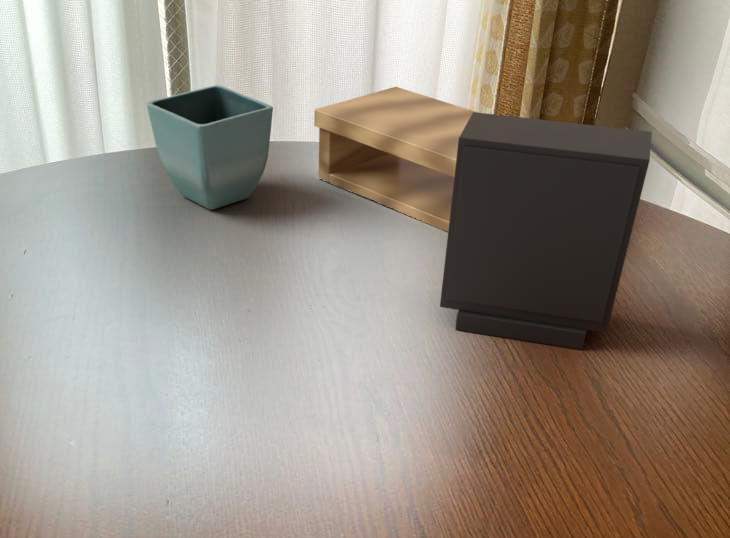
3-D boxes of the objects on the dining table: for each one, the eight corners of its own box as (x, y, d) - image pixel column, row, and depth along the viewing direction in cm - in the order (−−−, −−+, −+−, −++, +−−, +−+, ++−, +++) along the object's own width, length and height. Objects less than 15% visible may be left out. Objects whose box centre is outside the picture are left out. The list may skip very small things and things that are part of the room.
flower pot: (206, 223, 88) (199, 125, 82) (153, 196, 93) (143, 101, 87) (277, 200, 92) (275, 106, 86) (223, 175, 97) (218, 83, 91)
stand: (553, 212, 91) (566, 139, 87) (476, 247, 85) (486, 170, 80) (391, 153, 103) (395, 86, 98) (313, 179, 97) (314, 109, 92)
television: (601, 353, 71) (649, 162, 61) (436, 327, 74) (457, 139, 64) (607, 312, 76) (652, 129, 67) (452, 288, 79) (474, 109, 69)
